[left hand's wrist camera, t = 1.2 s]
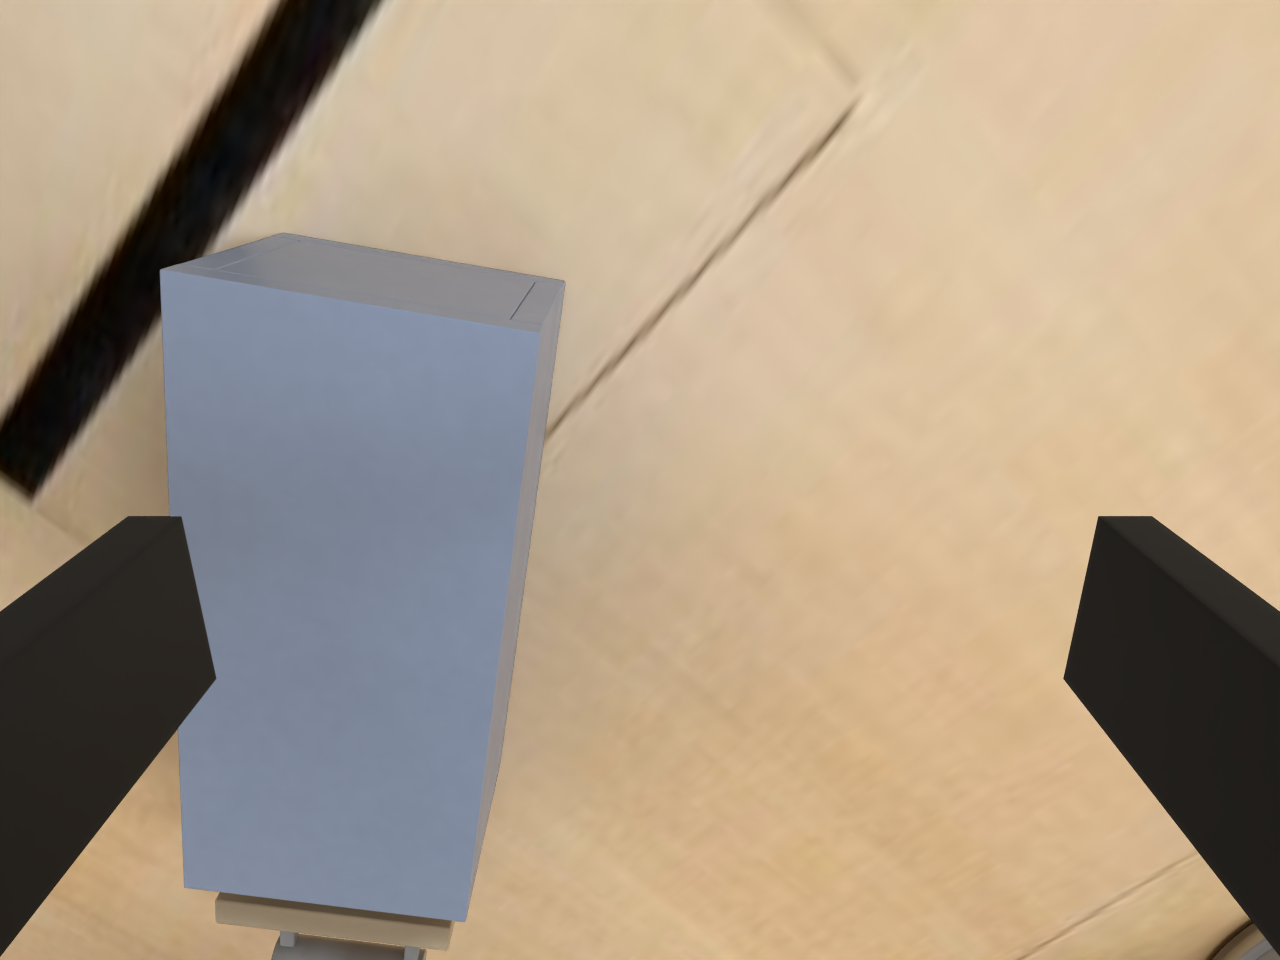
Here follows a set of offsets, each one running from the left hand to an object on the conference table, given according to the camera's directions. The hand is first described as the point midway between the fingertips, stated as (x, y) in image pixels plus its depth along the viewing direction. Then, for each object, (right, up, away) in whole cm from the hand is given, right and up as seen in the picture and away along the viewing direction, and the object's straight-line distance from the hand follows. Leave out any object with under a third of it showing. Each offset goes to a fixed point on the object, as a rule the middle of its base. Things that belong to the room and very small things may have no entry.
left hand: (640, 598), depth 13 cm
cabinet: (-9, 0, +22) cm, 24 cm away
